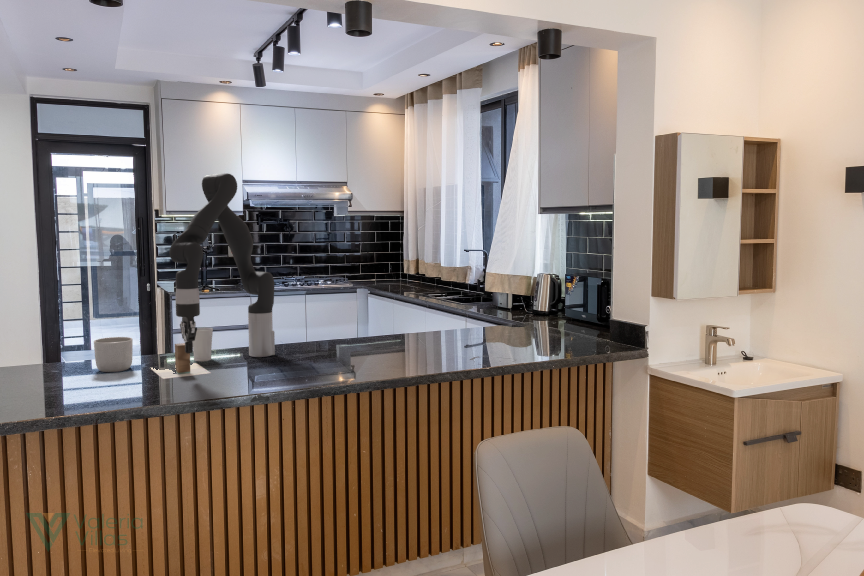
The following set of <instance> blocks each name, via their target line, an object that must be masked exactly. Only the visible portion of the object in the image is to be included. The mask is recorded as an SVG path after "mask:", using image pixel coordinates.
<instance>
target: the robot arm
mask: <svg viewBox="0 0 864 576" xmlns="http://www.w3.org/2000/svg"><path fill="white" fill-rule="evenodd" d="M201 188H202V192H203V194H204V197H205V198H206V200H207V203H206V204H205V205H204V206H203V207H201V209H199V210H198V211H197V212H196V213H195V214H194V215H193V217H192V218H191V220H190V222H189V223H188V226H187V227H186V229H185V230H184V231H183V232H182V233H181V234H180V235H179V236H178V237H177V238H175V240H174V241H173V242H172V243H171V245H170V247H169V258H170V260H171V261H172V262H174V263H177V264H186V267H185V269H183V270H178V271H176V274H175V315H176V317H178V318H181V321H180V324H179V327H180V333H181V336H182V337H181V339H182V340H183V343H185V352H186V353H190V354H192V353H193V341H195V337H196V332H197V328H198V327H196V326H197V325H196V324H197V323H196V321H195V317H199V316H200V314H201V308H200V307H201V306H200V303H201V302H200V291H199V275H200V269H201V267H202V262H203V257H204V250H203V247H202V245H201V244H203V243H204V242H205V241H206V239H207V238H208V235H209V233H210V232H211V229H212V228H213V226H214V224H215V223H216V221H218V224H219V226H220V228H221V231H222V233H223V236H224V238H225V240H226V243H227V246H228V248H229V250H230V252H231V254H232V257H233V259H234V262H235V264H236V267H237V271H238V274H239V277H240V280H241V285H242V287H243V288H244V289H243V290H244V291H245V292H246V293H247V294H249V295H255V296H257V299H256V301H255V302H254V303H250V304H249V305H248V306H247V312H248V313H247V317H248V320H247V321H248V323H247V325H248V356H250V357H253V358H262V357H263V358H264V357H270V356H275V354H276V352H275V351H276V349H275V346H276V345H275V344H276V343H275V330H274V329H273V307H274V305H275V304H274V302H275V299H274V298H275V280H274V276H273V274H272V273H271V272H268V271H256V270H255V267H254V265H253V263H252V259H251V258H252V253H253V249H254V239H253V237H252V234H251V231H250V229H249V227H248V225H247V224H246V222H245V221H244V220H243V219H242V218H241V217H240V216H239V215H238V214H236V212H234V211H233V210H232V209H231V208H230V207H229V204H230V203H231V201H232V200H233V198H235V196H236V194H237V191H238V181H237V180H236V178H235V176H234V175H233V174H232V173H229V172H228V173H225V172H224V173H212V174H207V175H205V176H203V177H202V181H201ZM193 354H194V353H193Z"/></svg>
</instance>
